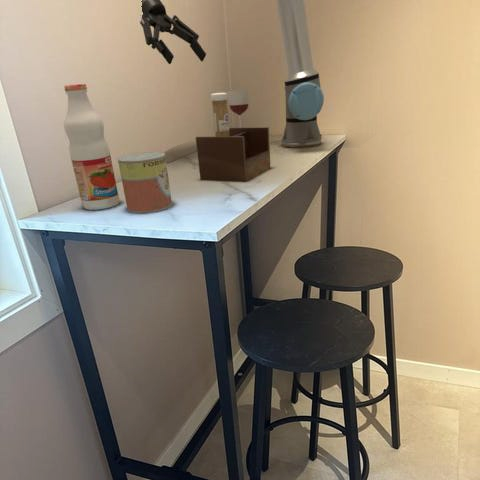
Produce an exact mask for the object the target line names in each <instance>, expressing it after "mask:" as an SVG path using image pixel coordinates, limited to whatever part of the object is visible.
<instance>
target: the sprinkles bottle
mask: <svg viewBox="0 0 480 480" xmlns="http://www.w3.org/2000/svg"><path fill="white" fill-rule="evenodd" d="M210 97H211V105H212V116H213V128H214V135H215V136H214V137H222V136H230V135H229V128H230V121H229V111H228V96H227V92H213V93H211V94H210Z"/></svg>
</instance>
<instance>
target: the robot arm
mask: <svg viewBox="0 0 480 480" xmlns="http://www.w3.org/2000/svg"><path fill="white" fill-rule="evenodd" d="M141 2H142V6H141V7H142V12H143V15H142V17H141V18H140V21H139V24H140V25H141V27H142V31H143V34H144V39H145V44H146V45H147V46H151V49H153V50H157V52H158V53H159V54H160V55H162V57H163V59H164V60H165V61H166V63H168V65H171V64H172V62H173V60H174V57H175V56H174V54H173V52H171V50H170V48H168V46H167V45H166V43H165V42H164V41H163V39H160V33H169V34H170V35H174V36H176V37H177V38H179V39H181V40H183V41H184V42H186V43H188V44H189V47H190V48H191V50H192V52H194V54H195V55H196V57H197V58H198V59H199V60H200V62H204V60H205V58H206V56H207V53H206V51H205V50H204V48H202V45H201V44H200V43H199V42H198V40H199V37H200V35H199V34H198V33H197V32H195V31H194V30H193V29H192V28H191V27H190V26H188V25H187V24H185V22H183V21H182V20H180V19H179V17H178V16H177V15H175V14H173V17H171V16H169V15H168V14H167V10H166V6H165V5H164V4H163V2H162V1H161V0H142V1H141ZM275 3H276V10H277V16H278V21H279V27H280V35H281V40H282V46H283V53H284V59H285V65H286V71H287V75H286V77H285V79H284V82H283V83H284V91H285V93H284V94H285V95H284V96H285V98H284V99H285V127H284V130H283V132H282V135H281V137H282V138H281V146H282V147H284V148H290V149H291V148H293V149H294V148H295V149H296V148H299V149H300V148H310V147H316V146H320V145H322V135H323V134H321V132H320V129H319V125H318V115H319V113H320V112H321V110H322V109H323V107H324V101H325V98H324V97H325V95H324V93H323V90H322V88H321V81H320V74H319V71H318V70H317V69H315V68H314V63H313V55H312V49H311V42H310V41H311V40H310V35H309V26H308V18H307V13H306V5H305V0H275ZM152 28H153V32H152Z"/></svg>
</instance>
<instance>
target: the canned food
mask: <svg viewBox="0 0 480 480" xmlns="http://www.w3.org/2000/svg"><path fill="white" fill-rule="evenodd" d="M117 163H118V168H119V173H120V178H121V182H122V189H123V193H124V199H125V203H126V210H127V211H128V212H130V213H134V214H147V213H154V212H155V213H156V212H160V211H163V210H166V209H169V208H171V207H172V206H173V200H172V194H171V187H170V180H169V175H168V167H167V160H166V153H165V152H163V151H146V152H145V151H143V152H136V153H131V154H125V155H122V156H120V157H118V158H117Z"/></svg>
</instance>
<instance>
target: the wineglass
mask: <svg viewBox="0 0 480 480" xmlns="http://www.w3.org/2000/svg"><path fill="white" fill-rule="evenodd" d="M226 93H227V103H228V106H229V109H230V110H231V112H233V113H234V114H237V115H238V123H239V125H238V126H239V128H242V114H244V113H245V112H247V110H248V109H249V103H250V89H249V88H247V89H245V88H244V89H233V90H227V91H226Z"/></svg>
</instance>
